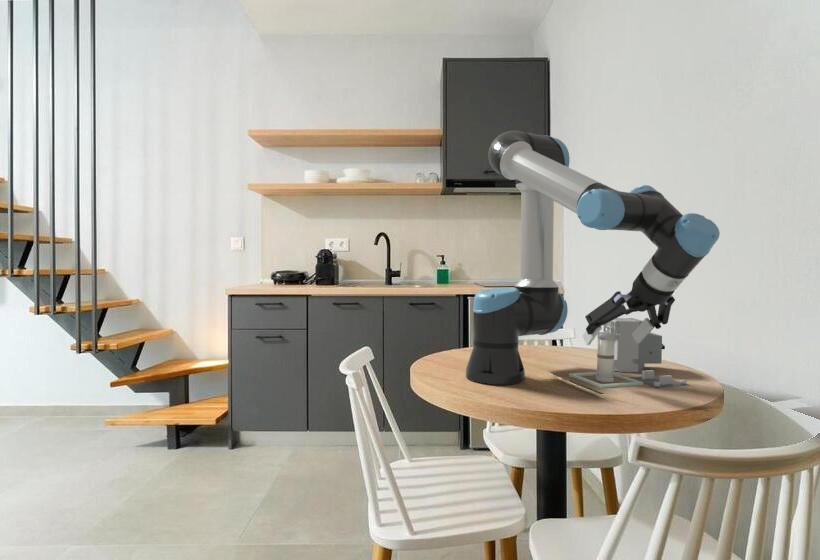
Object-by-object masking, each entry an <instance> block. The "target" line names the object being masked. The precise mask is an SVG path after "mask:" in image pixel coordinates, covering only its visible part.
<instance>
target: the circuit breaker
mask: <svg viewBox="0 0 820 560" xmlns="http://www.w3.org/2000/svg"><path fill="white" fill-rule="evenodd" d="M642 322H643V320H642V319H638V318H632V317H618V318H616V319H614V320H612V321H610V322H608V323H606V324H604V325H602V326H603V327H602V329H603V331H602V332H606V333H614V334H615V345H614V372H618V373H619V372H620V373H623V372H624V373H625V372H627V373H630V372H631V373H634V372H635V373H642V371H645V368H646V367H645V366H646V364H650V365H653V364H659V365H661V364H662V360H663V359H662V356H663V353H662V351H663V350H665V348H666V346H665V345H664V343H663V336H662V335H661V334H657V333H653V332H652V331H651V332H649V333H648V334H647V335H646V337H645V338H644V339H643V340H642V341H641V342H640V343H636V341H635V339H634V337H633V336H632V333H633V332H634V331H635V330H636V329H637V328H638V326H639V325H640V324H641V323H642Z"/></svg>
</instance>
